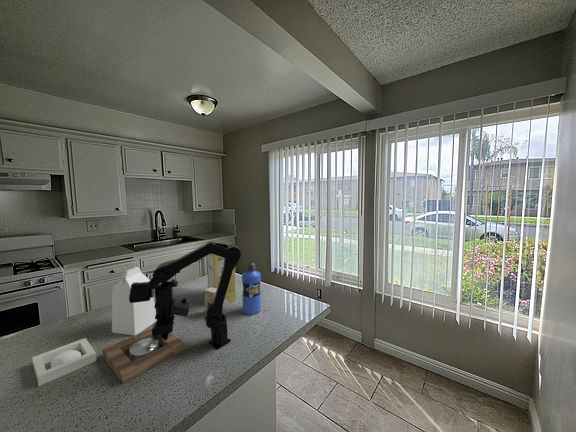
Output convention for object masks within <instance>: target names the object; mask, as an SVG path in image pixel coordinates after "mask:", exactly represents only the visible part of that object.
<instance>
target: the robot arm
mask: <svg viewBox="0 0 576 432" xmlns="http://www.w3.org/2000/svg"><path fill="white" fill-rule="evenodd" d="M209 254H215V255H217V256H220V257H223V258H224V265H223V269H222V273H221V276H220V280H219V283H218V286H217V290H216V293H215V297H214V300H213V301H212V303H208V304H207V309H206V311H205V310H204V321H205V326H206V327H207V328H209V329H210V339H209V341H207V343H208V344H209V345H211V346H212V347H213V348H215V349H216V350H218V349H221V348H222V347H224V346H226V345H227V344H229V343H231V339H230V338H228V337H229V336H228V335H229V334H228V322H227V316H226V315H225V314H224V313H223V310H224V309H223V307H224V304H223V303H224V299H225V296H226V292H227V289H228V285H229V282H230V279H231V275H232V272H233V269H234V268H235V269H236V267H237V265H238V263H239V261H240V260H241V257H242V251H241V249H240V248H239V246H238V245H237V244H235V243H231V244H225V243H221V242H220V243H219V242H215V241H212V240H210V241H207V242H206V243H205V244H203V245H201V246H199V247H197V248H195V249H194V250H192V251H190V252H188V253H186V254H185V255H182V256H181V257H179V258H176V259H172V260H168V261H165V262H162V263H160V264H158V266H157V267H156V268H155V270H153V272H152V277H151V278H150V279H149V280H150V281H149V282H141V283H138V282H136V283H132V285H131V290H130V295H129V301H130V303H136V302H145V301H150V299H151V298H153V296H154V302H155V311H156V315H155V319H157V321H156V322H154V323H153V324H152V327H151V328H152V336H156V335H161V336H162V338H163V339H164V340H167V339H168V333H173V331H174V324H175V321H174V320H175V316H180V317H184V318H187V317H188V314H189V312H190V309H191V305H190V304H191V303H189V302H188V301H187V298H184V297H182V298H181V299H180V300H179V301H176V300H175V298H174V289H173V288H177V287H178V285H179V281H177V280H176V279H174V277H175V276H176V275H177V274H178V273H180V271H182V270H183V269H185V268H187V267H189V266H191V265H192V264H194V263H196V262H198V261H200V260H202V259H204V258H205V257H207V255H209Z"/></svg>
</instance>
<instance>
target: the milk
mask: <svg viewBox="0 0 576 432" xmlns="http://www.w3.org/2000/svg"><path fill="white" fill-rule="evenodd" d="M150 280H151V279H150V278H148V277H147V276H146V275H145V274H144V273H143V272H142V270H141V268H140V267H139V266H136V267H133V268H130V269H127V270H125V271H124V273H123V276H122V278H121V279H120V280H119V282H118V283H117V284H115V286H113V287H112V290H111V333H113V334H122V335H126V336H134V335H137V334H139V333H142V332H144V330H146V329H147V328H148V327H150V326H151V325H154V324H155V322H156V321H157V319H155V315H156V308H155V295H154V296H153V298H151V299H150V301H145V302H136V303H130V301H129V295H130V290H131V285H132V283H136V282H138V283H141V282H149V281H150Z"/></svg>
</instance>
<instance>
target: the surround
mask: <svg viewBox="0 0 576 432" xmlns="http://www.w3.org/2000/svg"><path fill="white" fill-rule="evenodd" d="M146 338H152V327H151V328H149V329H147V330H146V329H145V331H144V330H143V331H141V332H140V333H138V334H137V335H134V336H133V335H131V336H130V337H128V338H125V339H122V340H120V341H118V342H115V343H113V344H111V345H108V346H106V347H103V348H102V349H101V350H102V351H101V352H102V358H103V359H104V360H105V362H106V363H107V364H108V366H109V367H110V368H111V370H112V371H113V373H114V374H115V375H116V376H117V378H118V379H119V380H120V382H121V384H123V385H124V384H125V383H127V382H130V381H131V380H133V379H135V378H137V377H138V376H141V375H142V374H144V373H146V372H148V371H150V370H151V369H153V368H155V367H157V366H159V365H162V364H163V363H165V362H166V361H168V360H170V359H172V358H174V357H176V356H177V355H180V354H182V353H183V352H185V351H186V344H185V342H184V341H183V340H182V339H180V338H179V337H177V336H176V335H175V334H174V333H173V332H171V333H170V334H169V335H168V339H167V340H164V339H163V338H160V339H158V344H159V345H160V346H162V347H159V349H158V350H156V351H154V352H152V353H150V354H147V355H145V356H143V357H141V358H139V359H137V360H135V361H132V360H131V359H130V357H128V355H126V353H128V352H130V347H131V346H132V345H133V344H134V343H136V342H138V341H140V340H142V339H146Z"/></svg>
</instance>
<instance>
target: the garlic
mask: <svg viewBox="0 0 576 432" xmlns="http://www.w3.org/2000/svg"><path fill="white" fill-rule="evenodd" d="M80 356H82V352H81V351H80V350H79V351H76V350H69V351H64V352H62V353H60V354H59V355H57V356H56V357H55V358H53V359H52V361H51V362H50V368H53V367H55V366H58V365H60V364H63V363H65V362H68V361H70V360H72V359H75V358H77V357H80Z"/></svg>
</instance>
